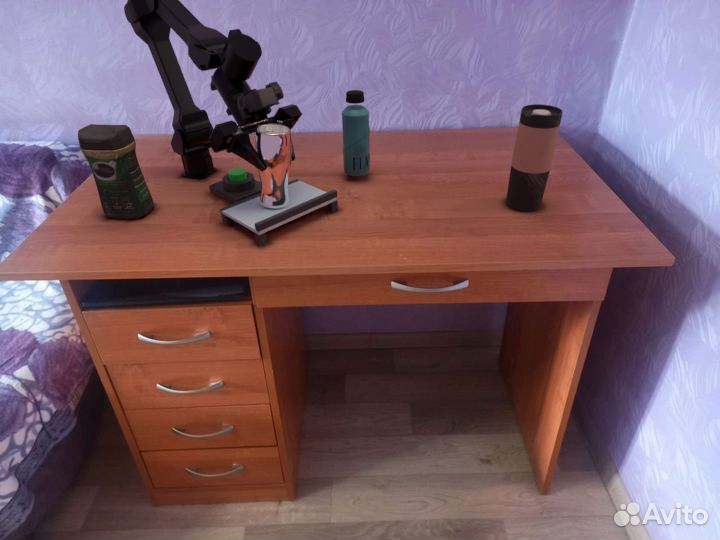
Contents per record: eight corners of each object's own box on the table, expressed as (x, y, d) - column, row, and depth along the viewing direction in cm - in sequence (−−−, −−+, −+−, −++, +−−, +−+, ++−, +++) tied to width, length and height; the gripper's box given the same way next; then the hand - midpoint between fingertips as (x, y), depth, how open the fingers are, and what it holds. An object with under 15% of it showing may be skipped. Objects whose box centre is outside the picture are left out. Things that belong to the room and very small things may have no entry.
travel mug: (542, 199, 103) (563, 105, 92) (541, 214, 97) (563, 117, 86) (506, 194, 105) (522, 102, 94) (503, 209, 100) (520, 113, 88)
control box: (210, 193, 108) (206, 177, 106) (243, 181, 114) (240, 165, 111) (238, 208, 102) (235, 191, 100) (271, 194, 107) (269, 178, 105)
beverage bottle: (350, 184, 111) (348, 96, 100) (338, 174, 116) (335, 89, 105) (375, 179, 113) (375, 92, 102) (362, 169, 118) (361, 86, 107)
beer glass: (293, 209, 94) (293, 135, 86) (257, 209, 93) (254, 134, 85) (290, 194, 100) (290, 123, 92) (257, 195, 99) (254, 122, 90)
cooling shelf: (222, 223, 97) (218, 203, 94) (298, 191, 108) (296, 173, 106) (260, 246, 89) (257, 225, 86) (338, 210, 100) (337, 190, 98)
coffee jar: (160, 204, 104) (136, 119, 93) (142, 221, 97) (114, 132, 87) (119, 202, 105) (91, 118, 94) (98, 219, 98) (66, 131, 88)
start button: (225, 179, 106) (224, 171, 105) (240, 173, 108) (239, 166, 107) (235, 184, 103) (234, 176, 102) (250, 178, 106) (249, 171, 105)
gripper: (204, 77, 79) (252, 157, 79) (291, 60, 90) (333, 130, 90) (190, 115, 88) (233, 187, 88) (271, 95, 99) (309, 159, 99)
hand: (279, 165), depth 91 cm, fingers closed on beer glass, 7 cm apart
